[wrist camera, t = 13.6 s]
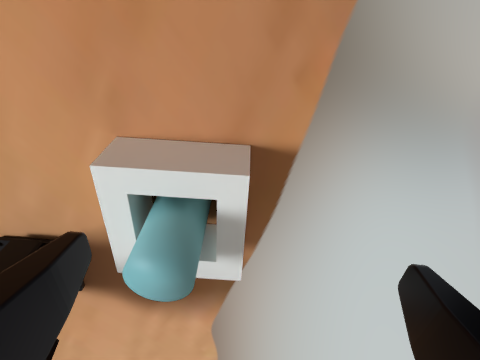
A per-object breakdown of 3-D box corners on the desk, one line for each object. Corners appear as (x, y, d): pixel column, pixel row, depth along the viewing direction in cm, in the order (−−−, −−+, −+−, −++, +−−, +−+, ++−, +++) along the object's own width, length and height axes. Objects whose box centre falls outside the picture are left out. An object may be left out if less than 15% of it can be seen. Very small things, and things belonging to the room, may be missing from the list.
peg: (211, 216, 24) (195, 303, 18) (163, 213, 24) (128, 299, 18) (211, 175, 22) (192, 257, 15) (158, 171, 22) (116, 252, 15)
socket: (242, 242, 26) (241, 280, 22) (135, 235, 26) (117, 272, 22) (250, 145, 21) (249, 176, 17) (116, 136, 21) (89, 165, 17)
